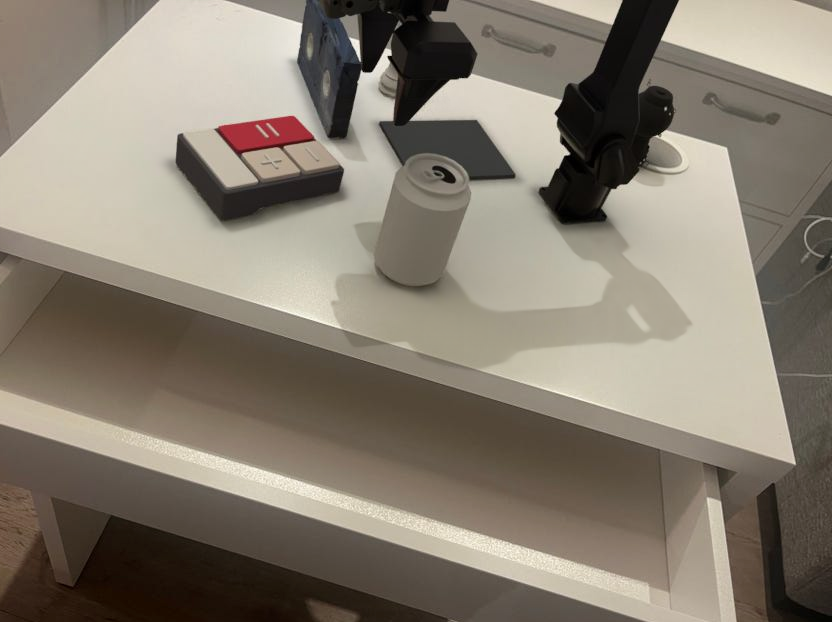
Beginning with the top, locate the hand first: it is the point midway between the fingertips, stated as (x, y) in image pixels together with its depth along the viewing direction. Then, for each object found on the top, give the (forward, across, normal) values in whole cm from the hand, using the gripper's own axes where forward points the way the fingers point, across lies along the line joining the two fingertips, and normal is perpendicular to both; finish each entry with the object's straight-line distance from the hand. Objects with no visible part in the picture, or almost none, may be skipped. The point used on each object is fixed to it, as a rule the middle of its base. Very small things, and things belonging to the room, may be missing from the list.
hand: (382, 97), depth 72 cm
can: (+15, +8, +3) cm, 17 cm away
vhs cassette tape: (+15, -24, +3) cm, 28 cm away
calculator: (+15, -8, -9) cm, 19 cm away
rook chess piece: (+15, -26, +14) cm, 33 cm away
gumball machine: (+15, -9, +42) cm, 46 cm away
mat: (+15, -12, +16) cm, 25 cm away
